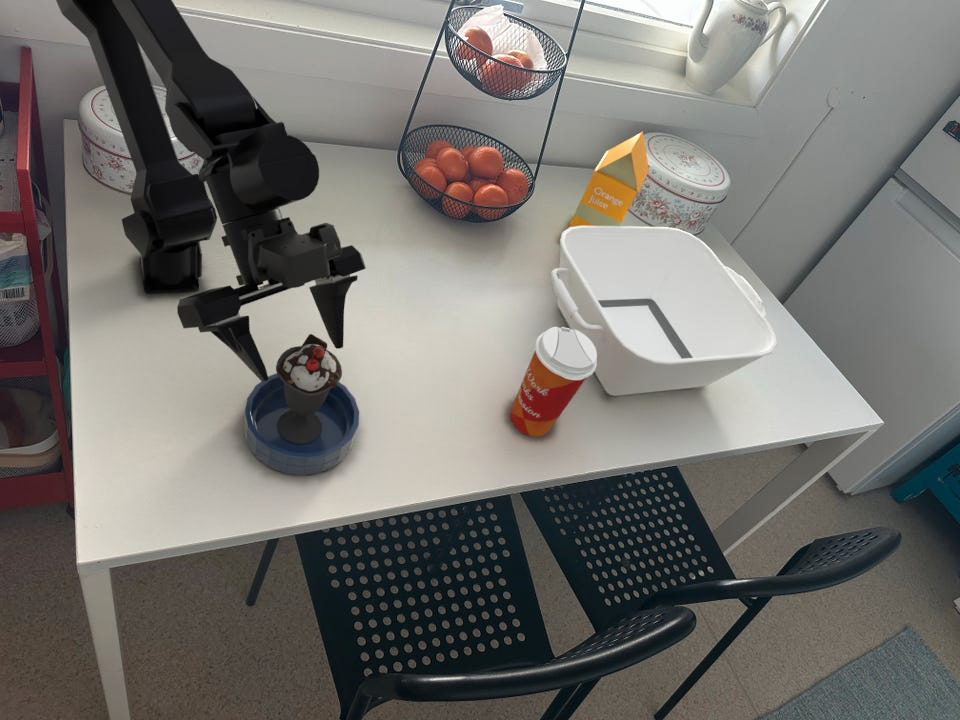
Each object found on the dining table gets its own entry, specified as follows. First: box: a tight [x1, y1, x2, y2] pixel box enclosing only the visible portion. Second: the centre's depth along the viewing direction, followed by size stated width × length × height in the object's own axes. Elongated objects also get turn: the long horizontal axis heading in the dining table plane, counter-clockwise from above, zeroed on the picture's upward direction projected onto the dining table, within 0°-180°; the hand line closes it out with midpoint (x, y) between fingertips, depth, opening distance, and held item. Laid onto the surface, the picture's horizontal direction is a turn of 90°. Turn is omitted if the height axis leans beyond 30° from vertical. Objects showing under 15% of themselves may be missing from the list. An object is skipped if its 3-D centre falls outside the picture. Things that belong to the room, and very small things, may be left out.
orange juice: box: [567, 130, 650, 229], centre depth 117 cm, size 8×9×20 cm
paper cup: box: [510, 326, 597, 437], centre depth 87 cm, size 8×8×14 cm
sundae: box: [275, 333, 343, 444], centre depth 75 cm, size 7×7×15 cm
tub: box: [550, 225, 778, 398], centre depth 103 cm, size 34×27×13 cm
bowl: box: [242, 372, 360, 476], centre depth 80 cm, size 12×12×4 cm
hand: (303, 363), depth 74 cm, fingers open, 9 cm apart
